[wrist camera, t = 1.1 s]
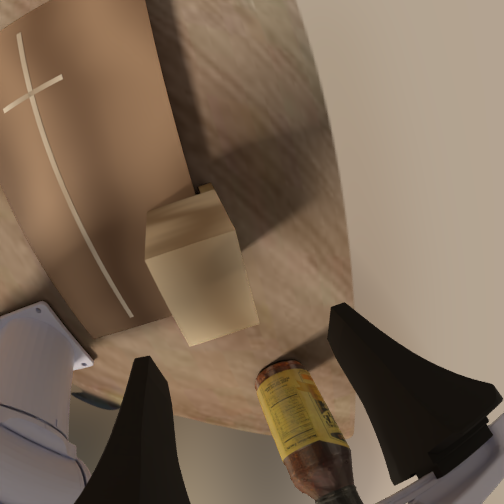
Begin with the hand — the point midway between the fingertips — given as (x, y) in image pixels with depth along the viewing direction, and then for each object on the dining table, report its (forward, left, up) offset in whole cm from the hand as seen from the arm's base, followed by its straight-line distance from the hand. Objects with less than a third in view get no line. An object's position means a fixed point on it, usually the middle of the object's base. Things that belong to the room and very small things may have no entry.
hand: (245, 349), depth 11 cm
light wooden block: (-1, 0, -10) cm, 10 cm away
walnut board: (-5, +6, -10) cm, 13 cm away
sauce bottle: (+3, -20, -10) cm, 23 cm away
